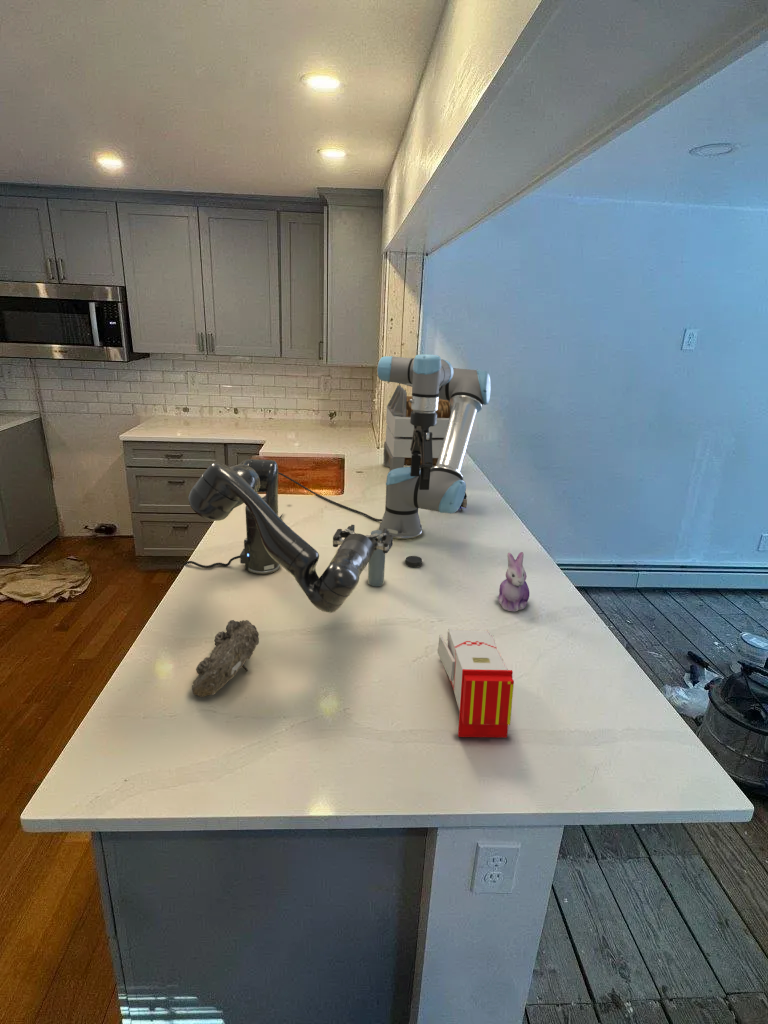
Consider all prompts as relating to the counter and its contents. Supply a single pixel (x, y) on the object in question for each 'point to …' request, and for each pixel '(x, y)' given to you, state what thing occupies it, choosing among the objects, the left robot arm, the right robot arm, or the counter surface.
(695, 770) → the counter surface
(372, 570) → the jar
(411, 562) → the lid
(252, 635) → the fossil
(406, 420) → the white wooden crate
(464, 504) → the figurine character
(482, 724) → the toy
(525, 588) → the figurine
